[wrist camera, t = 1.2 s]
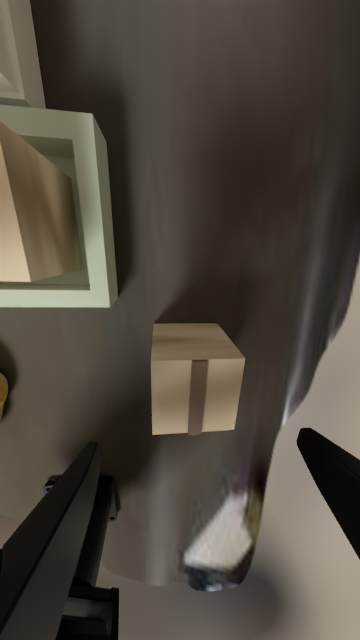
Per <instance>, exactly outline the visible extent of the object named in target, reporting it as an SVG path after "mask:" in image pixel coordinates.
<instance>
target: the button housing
mask: <svg viewBox="0 0 360 640" xmlns="http://www.w3.org/2000/svg"><path fill="white" fill-rule="evenodd" d="M0 104H1V105H11V106H21V107H31V108H41V109H46V105H45V99H44V92H43V85H42V79H41V72H40V65H39V59H38V52H37V45H36V39H35V32H34V25H33V19H32V12H31V5H30V0H0Z"/></svg>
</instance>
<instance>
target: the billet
mask: <svg viewBox="0 0 360 640" xmlns="http://www.w3.org/2000/svg"><path fill="white" fill-rule="evenodd" d="M244 365H245V357H244V356H243V355H242V354H241V352H240V351H239V350H238V349H237V347H236V346H235V345H234V344H233V342H232V341H231V340H230V339H229V337H228V336H227V335H226V334H225V332H224V331H223V330H222V329H221V327H220V326H219V325H218V324H217V323H166V324H154V326H153V339H152V352H151V394H152V435H159V434H175V433H188V436H190V435H201V432H206V431H222V430H234V427H235V421H236V415H237V408H238V402H239V396H240V390H241V383H242V377H243V371H244Z"/></svg>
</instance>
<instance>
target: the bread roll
mask: <svg viewBox="0 0 360 640" xmlns="http://www.w3.org/2000/svg"><path fill="white" fill-rule="evenodd" d="M7 394H8V382H7V379H6V378H5V376H4V375H3V374H1V372H0V422H1V418H2V412H3V406H4V401H5V400H6V397H7Z"/></svg>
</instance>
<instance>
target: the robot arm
mask: <svg viewBox="0 0 360 640" xmlns="http://www.w3.org/2000/svg"><path fill="white" fill-rule="evenodd" d="M297 446H298V448H299V450H300V452H301V454H302V456H303V459H304V460H305V463H306V464H307V467H308V469H309V471H310V473H311V475H312V477H313V479H314V481H315V483H316V485H317V487H318V489H319V490H320V492H321V494H322V496H323V497H324V499H325V501H326V502H327V504H328V506H329V508H330V509H331V511H332V513H333V514H334V516H335V518H336V520H337V521H338V523H339V525H340V526H341V528H342V530H343V532H344V533H345V535H346V537H347V538H348V540H349V542H350V544H351V545H352V547H353V549H354V551H355V552H356V554H357V556H358V557H359V559H360V460H359V459H357V458H356V457H354V456H353V455H351V454H350V453H348V452H347V451H345V450H344V449H342V448H341V447H339V446H338V445H336V444H334V443H333V442H331V441H330V440H328V439H327V438H325V437H324V436H322V435H321V434H319V433H317V432H316V431H315V430H313V429H311V428H302V429H300V432H299V435H298V438H297ZM101 462H102V451H101V444H100V442H90V443H89V444H88V445H87V446H86V447H85V448H84V449H83V451H82V452H81V453H80V454H79V455H78V457H77V458H76V459H75V460H74V461H73V463H72V464H71V465H70V466H69V467H68V468H67V470H66V471H65V472H64V473H63V474H62V476H61V477H60V478H59V479H58V480H57V481H50V482H47V483H46V484H45V486H44V488H43V491H44V495H45V496H44V497H43V498H42V500H41V501H40V502H39V503H38V504H37V506H36V507H35V508H34V509H33V510H32V512H31V513H30V514H29V515H28V516H27V518H26V519H25V520H24V521H23V522H22V524H21V525H20V526H19V527H18V528H17V530H16V531H15V532H14V533H13V534H12V535H11V537H10V538H9V539H8V540H7V541H6V543H5V544H4V545H3V547H2V549H0V640H118V618H119V588H111V589H107V588H99V587H95V586H96V581H97V576H98V571H99V565H100V560H101V555H102V550H103V544H104V539H105V534H106V529H107V524H108V522H110V521H115V520H116V519H117V515H118V512H117V503H116V495H115V487H114V479H113V478H112V477H99V473H100V468H101Z"/></svg>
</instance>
